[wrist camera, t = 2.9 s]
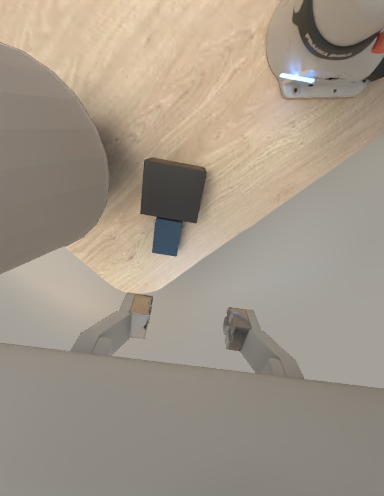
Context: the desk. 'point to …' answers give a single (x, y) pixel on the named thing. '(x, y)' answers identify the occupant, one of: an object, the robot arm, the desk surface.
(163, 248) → the box
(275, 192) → the desk surface
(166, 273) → the desk surface
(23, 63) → the table lamp
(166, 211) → the cabinet
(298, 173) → the desk surface
